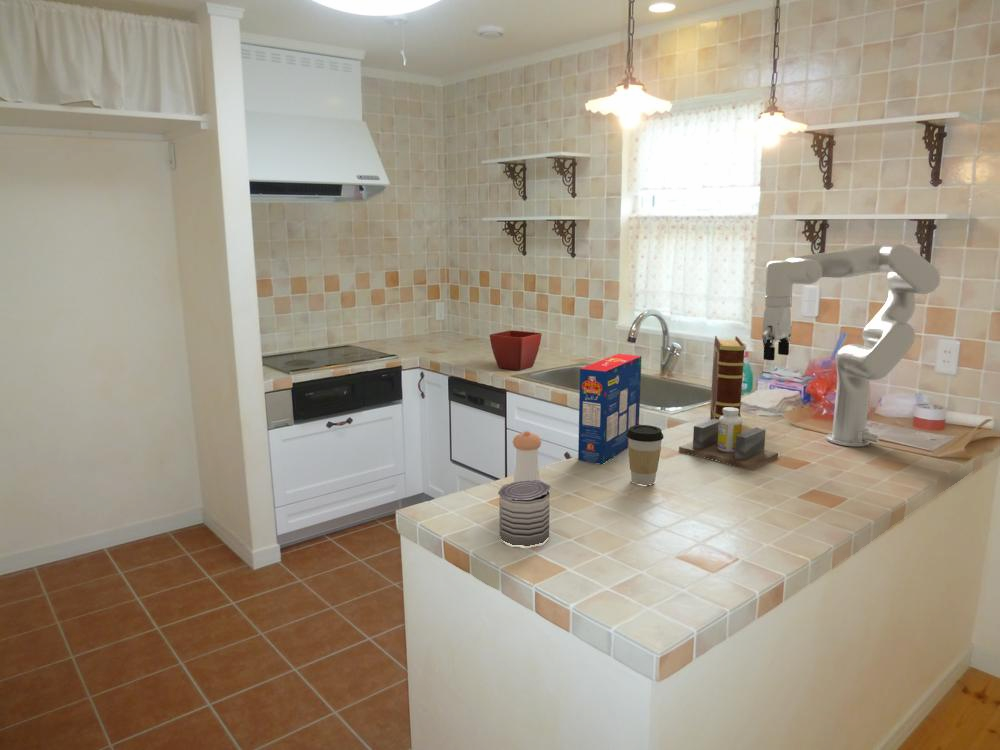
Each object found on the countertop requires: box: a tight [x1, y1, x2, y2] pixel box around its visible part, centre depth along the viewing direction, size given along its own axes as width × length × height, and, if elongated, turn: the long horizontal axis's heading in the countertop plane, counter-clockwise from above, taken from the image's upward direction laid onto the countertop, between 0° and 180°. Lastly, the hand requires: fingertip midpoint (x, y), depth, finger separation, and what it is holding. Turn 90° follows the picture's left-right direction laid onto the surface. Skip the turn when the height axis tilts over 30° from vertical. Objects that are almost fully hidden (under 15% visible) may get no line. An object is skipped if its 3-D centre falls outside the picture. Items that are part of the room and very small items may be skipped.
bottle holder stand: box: [678, 419, 779, 471], centre depth 213 cm, size 24×16×8 cm, turn 43°
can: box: [497, 479, 552, 546], centre depth 157 cm, size 11×11×12 cm
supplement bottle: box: [717, 407, 743, 452], centre depth 213 cm, size 7×7×13 cm
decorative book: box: [709, 335, 746, 420], centre depth 242 cm, size 22×8×30 cm, turn 168°
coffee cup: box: [626, 424, 664, 485], centre depth 190 cm, size 10×10×15 cm
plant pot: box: [489, 330, 543, 371], centre depth 345 cm, size 19×19×17 cm
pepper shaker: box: [512, 430, 542, 482], centre depth 175 cm, size 7×7×19 cm
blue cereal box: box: [577, 353, 642, 465], centre depth 217 cm, size 28×8×28 cm, turn 148°
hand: (776, 357), depth 217 cm, fingers open, 9 cm apart
